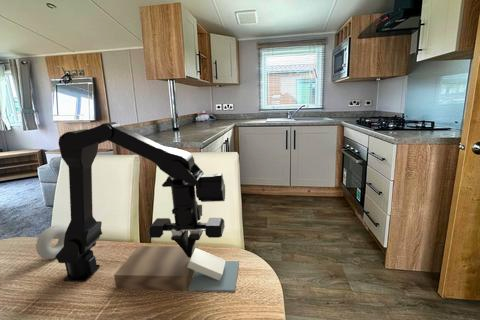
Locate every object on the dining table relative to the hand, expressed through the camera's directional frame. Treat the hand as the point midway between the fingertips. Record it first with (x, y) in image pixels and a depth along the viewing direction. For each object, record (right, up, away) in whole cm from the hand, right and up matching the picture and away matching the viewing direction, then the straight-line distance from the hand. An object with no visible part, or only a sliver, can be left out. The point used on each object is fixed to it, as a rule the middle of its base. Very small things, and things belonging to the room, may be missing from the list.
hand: (190, 256), depth 68 cm
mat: (+7, -5, 0) cm, 8 cm away
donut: (-44, -5, +12) cm, 46 cm away
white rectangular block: (+4, -3, 0) cm, 5 cm away
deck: (-8, -5, +2) cm, 10 cm away
